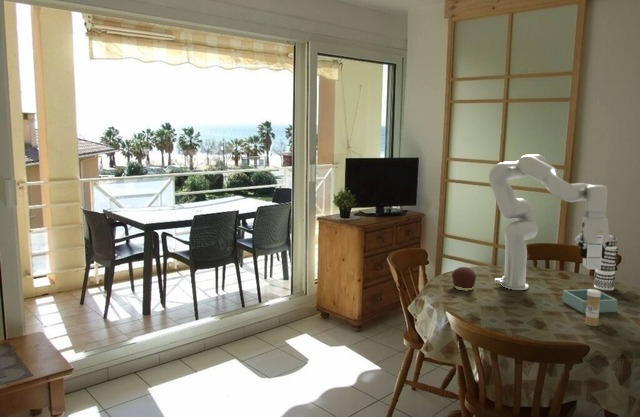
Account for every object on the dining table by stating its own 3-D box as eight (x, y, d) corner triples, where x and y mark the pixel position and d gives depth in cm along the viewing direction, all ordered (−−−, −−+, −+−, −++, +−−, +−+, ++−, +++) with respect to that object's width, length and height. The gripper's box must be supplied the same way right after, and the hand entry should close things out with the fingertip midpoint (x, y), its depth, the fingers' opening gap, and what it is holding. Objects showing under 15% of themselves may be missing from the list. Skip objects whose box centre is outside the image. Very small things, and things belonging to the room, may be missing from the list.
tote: (582, 313, 203) (583, 301, 203) (562, 301, 218) (563, 290, 217) (616, 311, 205) (617, 300, 204) (594, 300, 219) (595, 289, 218)
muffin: (451, 284, 244) (452, 264, 243) (475, 285, 241) (476, 265, 240) (451, 291, 233) (451, 270, 232) (476, 293, 230) (476, 272, 229)
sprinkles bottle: (583, 324, 191) (586, 290, 189) (586, 321, 195) (588, 287, 193) (597, 327, 188) (599, 293, 186) (599, 324, 192) (602, 290, 190)
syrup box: (601, 269, 205) (603, 235, 203) (585, 269, 207) (588, 234, 204) (596, 266, 211) (599, 232, 209) (581, 265, 212) (583, 232, 210)
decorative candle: (618, 290, 231) (622, 237, 228) (597, 290, 233) (600, 237, 229) (610, 285, 240) (614, 233, 237) (590, 284, 242) (593, 233, 238)
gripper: (580, 217, 201) (577, 260, 204) (621, 216, 203) (617, 259, 205) (569, 214, 208) (566, 255, 211) (609, 213, 210) (606, 254, 213)
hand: (592, 257), depth 208 cm, fingers closed on syrup box, 6 cm apart
